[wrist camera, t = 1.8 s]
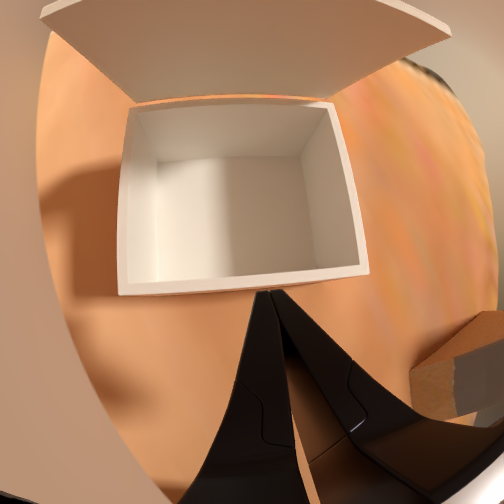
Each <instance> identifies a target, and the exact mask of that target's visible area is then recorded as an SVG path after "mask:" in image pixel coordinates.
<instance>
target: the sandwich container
mask: <svg viewBox="0 0 504 504" xmlns="http://www.w3.org/2000/svg"><path fill="white" fill-rule="evenodd" d="M409 380H410V388H411V396H412V404H413V410H414V411H416V412H417V413H419V414H421V415H423V416H425V417H428V418H431V419H434V420H439V421H445V420H449V419H452V418H456V417H460V416H463V415H467V414H470V413H473V412H476V411H479V410H482V409H485V408H488V407H491V406H494V405H497V404H500V403H502V402H504V310H500V311H483V312H481V313H480V314H479V315H478V316H477V317H476V318H475V319H473V320H472V321H471V322H470V323H469V324H468V325H466V326H465V327H464V328H463V329H461V330H460V331H459V332H458V333H457V334H456V335H455V336H454V337H452V338H451V339H450V340H449V341H448V342H447V343H445V344H444V345H443V346H442V347H441V348H439V349H438V350H437V351H436V352H434V353H433V354H432V355H431V356H429V357H428V358H427V359H425V360H424V361H423V362H421V363H420V364H419V365H417V366H416V367H415V368H413V369H412V370H411V371H409Z"/></svg>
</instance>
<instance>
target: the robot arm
mask: <svg viewBox="0 0 504 504" xmlns="http://www.w3.org/2000/svg"><path fill="white" fill-rule="evenodd" d="M291 411H292V413H291ZM292 414H293V417H294V420H295V424H296V427H297V430H298V433H299V436H300V440H301V443H302V446H303V449H304V452H305V456H306V459H307V462H308V464H309V469H310V472H311V475H312V478H313V481H314V484H315V488H316V491H317V494H318V497H319V500H320V503H321V504H504V417H502V418H501V419H499V420H498V421H496V422H495V423H493V424H492V425H491V426H489V427H487V428H483V427H475V426H468V425H461V424H455V423H450V422H444V421H439V420H434V419H431V418H428V417H425V416H423V415H421V414H419V413H417V412H416V411H414V410H413V409H412V408H410V407H409V406H408V405H406V404H405V403H404V402H402V401H401V400H400V399H398V398H397V397H396V396H395V395H393V394H392V393H391V392H389V391H388V390H387V389H385V388H384V387H383V386H382V385H381V384H379V383H378V382H377V381H376V380H374V379H373V378H372V377H371V376H370V375H369V374H368V373H367V372H366V371H365V370H364V369H362V368H361V367H360V366H359V365H358V364H357V363H356V362H355V361H354V360H352V358H351V357H350V356H349V355H348V354H347V353H346V352H345V351H344V350H343V349H342V348H341V347H340V346H339V345H338V344H337V343H336V342H335V341H334V340H333V339H332V338H331V337H330V336H329V335H328V334H327V333H326V332H325V331H324V330H323V329H322V328H321V327H320V326H319V325H318V324H317V323H316V322H315V321H314V320H313V319H312V318H311V317H310V316H309V315H308V314H307V313H306V312H305V311H304V310H303V309H302V308H301V307H300V306H299V305H298V304H297V303H296V302H295V301H294V300H293V299H292V298H291V297H290V296H289V295H288V294H287V293H286V292H285V291H284V290H282V289H276V290H270V291H267V290H266V291H257V292H256V293H255V298H254V302H253V306H252V310H251V315H250V319H249V323H248V328H247V332H246V336H245V340H244V344H243V349H242V353H241V357H240V361H239V365H238V369H237V374H236V378H235V381H234V385H233V389H232V393H231V397H230V400H229V404H228V407H227V410H226V412H225V415H224V418H223V420H222V423H221V425H220V427H219V430H218V432H217V434H216V437H215V439H214V441H213V443H212V446H211V448H210V450H209V452H208V455H207V457H206V459H205V461H204V463H203V465H202V467H201V469H200V471H199V473H198V474H197V476H196V478H195V479H194V481H193V482H192V484H191V485H190V487H189V488H188V489H187V491H186V492H185V494H184V495H183V496H182V498H181V499H180V501H179V502H178V503H177V504H310V503H309V499H308V496H307V493H306V490H305V487H304V484H303V480H302V477H301V474H300V471H299V467H298V462H297V456H296V449H295V439H294V430H293V422H292ZM0 504H38V503H35V502H33V501H30V500H27V499H24V498H21V497H17V496H14V495H11V494H8V493H6V492H3V491H0Z"/></svg>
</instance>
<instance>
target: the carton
mask: <svg viewBox="0 0 504 504" xmlns="http://www.w3.org/2000/svg"><path fill="white" fill-rule="evenodd" d="M368 274H370V272H369V264H368V256H367V249H366V242H365V236H364V229H363V223H362V218H361V212H360V207H359V202H358V197H357V192H356V187H355V182H354V178H353V173H352V169H351V165H350V161H349V157H348V153H347V149H346V145H345V141H344V138H343V134H342V131H341V127H340V124H339V120H338V117H337V114H336V111H335V107H334V104H333V103H328V102H319V101H309V100H297V99H280V98H216V99H199V100H187V101H177V102H168V103H160V104H153V105H146V106H139V107H134V108H129V114H128V119H127V125H126V132H125V138H124V145H123V153H122V162H121V171H120V182H119V196H118V215H117V278H118V295H122V296H164V295H182V294H197V293H211V292H225V291H237V290H249V289H260V288H271V287H281V286H291V285H300V284H310V283H319V282H326V281H332V280H338V279H345V278H350V277H356V276H362V275H368Z"/></svg>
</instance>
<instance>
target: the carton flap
mask: <svg viewBox="0 0 504 504" xmlns="http://www.w3.org/2000/svg"><path fill="white" fill-rule="evenodd" d="M39 19H40V20H41V21H42V22H43V23H45V24H46V25H47V26H48V27H50V28H51V29H52V30H53V31H54V32H56V33H57V34H58V35H59V36H60V37H62V38H63V39H64V40H65V41H66V42H67V43H69V44H70V45H71V46H72V47H73V48H75V49H76V50H77V51H78V52H79V53H80V54H82V55H83V56H84V57H85V58H86V59H87V60H89V61H90V62H91V63H92V64H93V65H94V66H95V67H97V68H98V69H99V70H100V71H101V72H102V73H103V74H104V75H106V76H107V77H108V78H109V79H110V80H111V81H112V82H113V83H115V84H116V85H117V86H118V87H119V88H120V89H121V90H122V91H123V92H125V93H126V94H127V95H128V96H129V97H130V98H131V99H132V100H133V101H134V102H136V103H142V102H148V101H155V100H162V99H171V98H180V97H191V96H204V95H225V94H269V95H290V96H303V97H314V98H323V99H327V98H329V97H330V96H332V95H334V94H336V93H337V92H339V91H341V90H342V89H344V88H346V87H348V86H349V85H351V84H353V83H355V82H357V81H359V80H360V79H362V78H364V77H366V76H368V75H370V74H372V73H373V72H375V71H377V70H379V69H381V68H383V67H385V66H387V65H389V64H391V63H393V62H395V61H397V60H399V59H401V58H404V57H406V56H408V55H410V54H412V53H414V52H416V51H419V50H421V49H423V48H426V47H428V46H430V45H433V44H435V43H438V42H440V41H443V40H445V39H448V38H450V37H452V35H451V31H450V28H449V26H448V25H446V24H445V23H443V22H441V21H439V20H438V19H436V18H434V17H432V16H430V15H428V14H427V13H424V12H423V11H421V10H419V9H417V8H415V7H413V6H411V5H408V4H406V3H404V2H402V1H400V0H58V1H56V2H54V3H51V4H49V5H47V6H45V7H44V8H43V10H42V13H41V16H40V18H39Z"/></svg>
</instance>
